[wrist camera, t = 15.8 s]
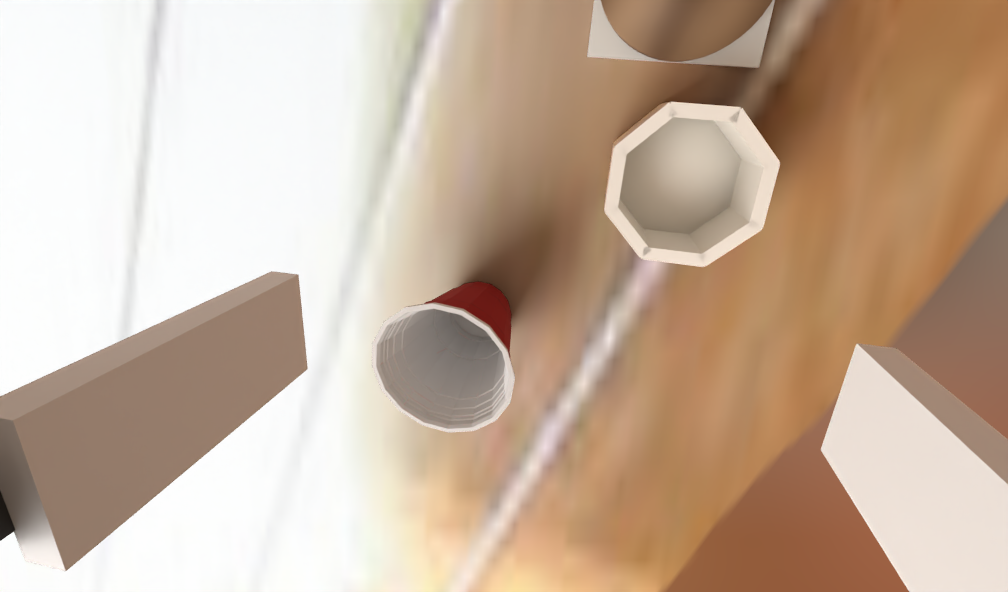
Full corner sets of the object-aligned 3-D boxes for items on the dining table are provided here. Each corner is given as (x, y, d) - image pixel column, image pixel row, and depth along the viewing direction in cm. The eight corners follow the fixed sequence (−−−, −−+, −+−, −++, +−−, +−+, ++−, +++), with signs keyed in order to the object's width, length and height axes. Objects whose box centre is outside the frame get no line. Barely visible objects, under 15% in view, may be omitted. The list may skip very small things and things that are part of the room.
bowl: (599, 233, 42) (597, 253, 36) (619, 100, 38) (621, 97, 32) (729, 248, 40) (750, 273, 34) (763, 111, 36) (794, 111, 30)
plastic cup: (411, 337, 49) (353, 403, 38) (443, 237, 44) (388, 279, 33) (513, 381, 48) (484, 461, 37) (555, 284, 44) (537, 342, 33)
